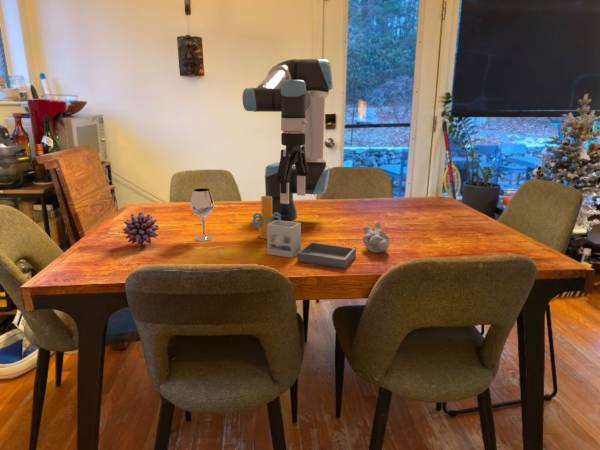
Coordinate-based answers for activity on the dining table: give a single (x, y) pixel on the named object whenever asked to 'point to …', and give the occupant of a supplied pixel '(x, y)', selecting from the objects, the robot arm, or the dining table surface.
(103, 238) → the dining table surface
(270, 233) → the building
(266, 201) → the orange and blue piece
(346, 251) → the tray
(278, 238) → the ball
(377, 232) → the figurine
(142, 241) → the purple spiky ball
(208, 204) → the wineglass
